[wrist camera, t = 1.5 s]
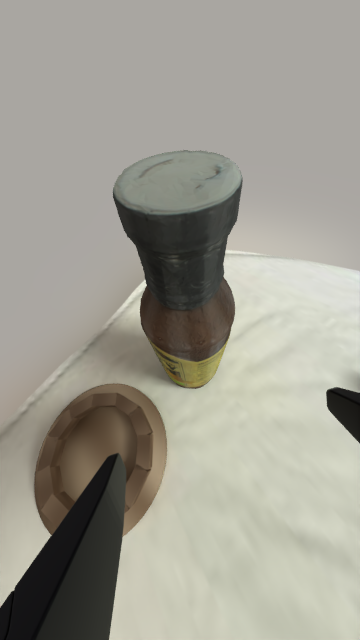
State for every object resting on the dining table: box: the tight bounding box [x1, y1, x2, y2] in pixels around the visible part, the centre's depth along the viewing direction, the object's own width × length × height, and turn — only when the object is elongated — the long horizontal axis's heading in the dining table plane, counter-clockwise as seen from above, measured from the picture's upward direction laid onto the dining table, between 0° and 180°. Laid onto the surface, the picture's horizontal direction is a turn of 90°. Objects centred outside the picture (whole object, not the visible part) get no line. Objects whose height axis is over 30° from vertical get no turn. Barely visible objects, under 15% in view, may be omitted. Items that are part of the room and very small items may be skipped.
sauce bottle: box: [113, 150, 242, 389], centre depth 14 cm, size 6×6×20 cm
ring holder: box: [34, 384, 167, 537], centre depth 18 cm, size 13×13×2 cm
